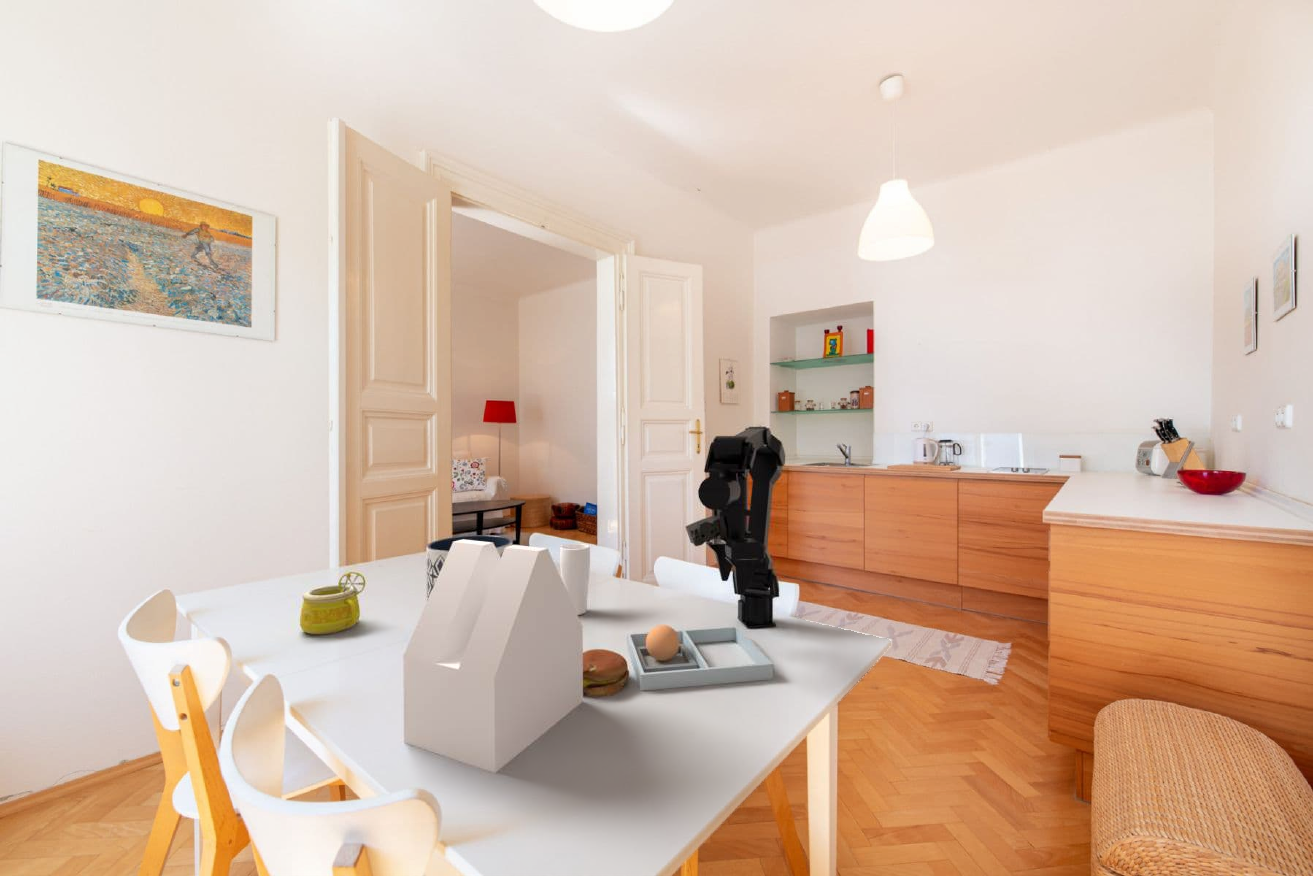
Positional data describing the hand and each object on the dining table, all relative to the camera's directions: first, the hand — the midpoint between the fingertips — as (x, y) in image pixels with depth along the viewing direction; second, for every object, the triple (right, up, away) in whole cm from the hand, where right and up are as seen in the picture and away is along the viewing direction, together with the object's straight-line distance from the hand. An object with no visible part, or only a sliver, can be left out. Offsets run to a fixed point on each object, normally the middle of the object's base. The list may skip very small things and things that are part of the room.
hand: (732, 587), depth 101 cm
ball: (-13, -12, -5) cm, 18 cm away
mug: (-82, -12, +13) cm, 83 cm away
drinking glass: (-33, -12, +23) cm, 41 cm away
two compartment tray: (-7, -12, -4) cm, 15 cm away
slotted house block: (-36, -13, -24) cm, 45 cm away
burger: (-23, -13, -13) cm, 29 cm away
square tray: (-13, -12, -5) cm, 18 cm away
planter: (-56, -12, +20) cm, 60 cm away
